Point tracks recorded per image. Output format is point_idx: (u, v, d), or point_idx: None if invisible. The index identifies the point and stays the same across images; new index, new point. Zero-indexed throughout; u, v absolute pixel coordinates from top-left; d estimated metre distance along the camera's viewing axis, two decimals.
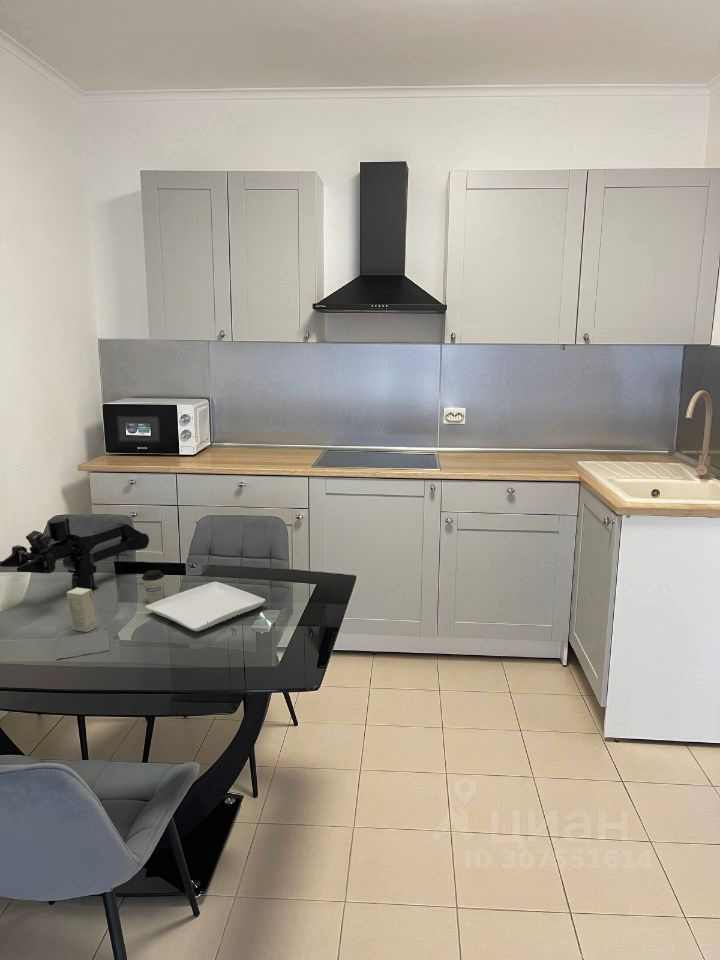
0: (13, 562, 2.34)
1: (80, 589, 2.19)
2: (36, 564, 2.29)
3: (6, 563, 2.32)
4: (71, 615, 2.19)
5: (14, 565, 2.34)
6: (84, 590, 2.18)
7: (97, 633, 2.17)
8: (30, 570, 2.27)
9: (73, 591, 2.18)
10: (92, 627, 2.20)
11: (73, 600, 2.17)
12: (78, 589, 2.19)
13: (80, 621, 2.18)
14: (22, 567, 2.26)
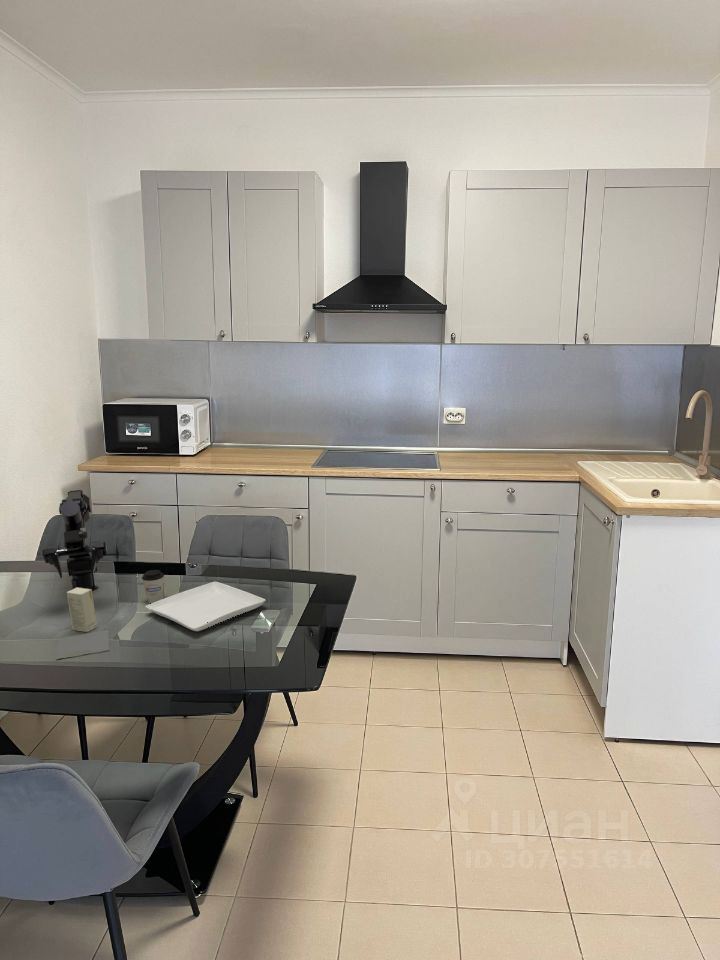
0: None
1: (80, 589, 2.19)
2: None
3: None
4: (71, 615, 2.19)
5: None
6: (84, 590, 2.18)
7: (97, 633, 2.17)
8: (96, 564, 2.33)
9: (73, 591, 2.18)
10: (92, 627, 2.20)
11: (73, 600, 2.17)
12: (78, 589, 2.19)
13: (80, 621, 2.18)
14: (94, 568, 2.31)
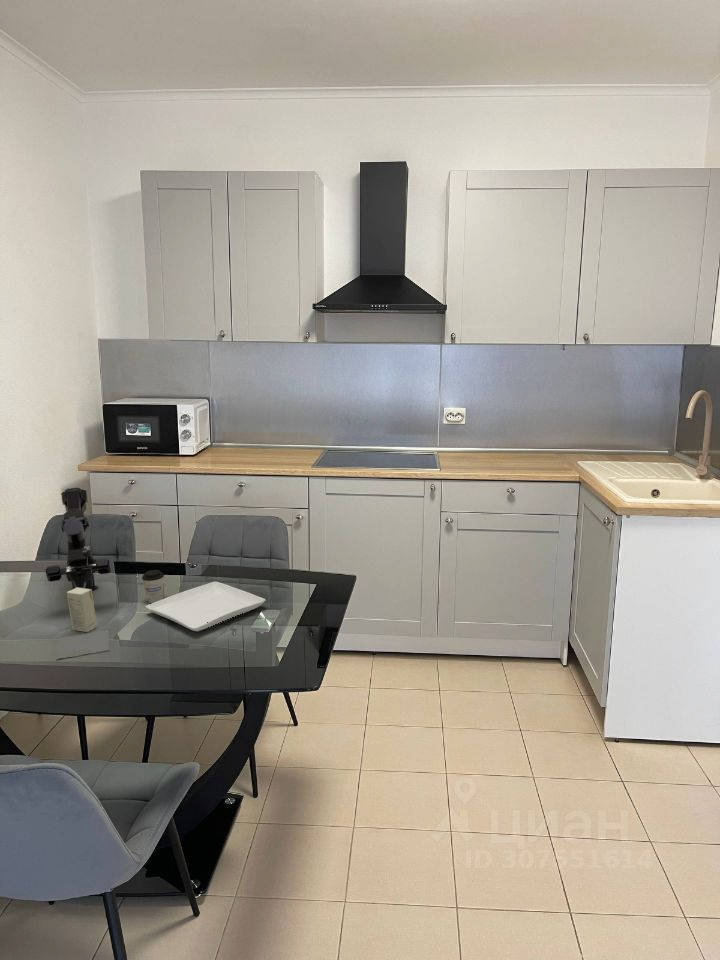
0: None
1: (80, 589, 2.19)
2: None
3: None
4: (71, 615, 2.19)
5: None
6: (84, 590, 2.18)
7: (97, 633, 2.17)
8: (85, 585, 2.30)
9: (73, 591, 2.18)
10: (92, 627, 2.20)
11: (73, 600, 2.17)
12: (78, 589, 2.19)
13: (80, 621, 2.18)
14: None
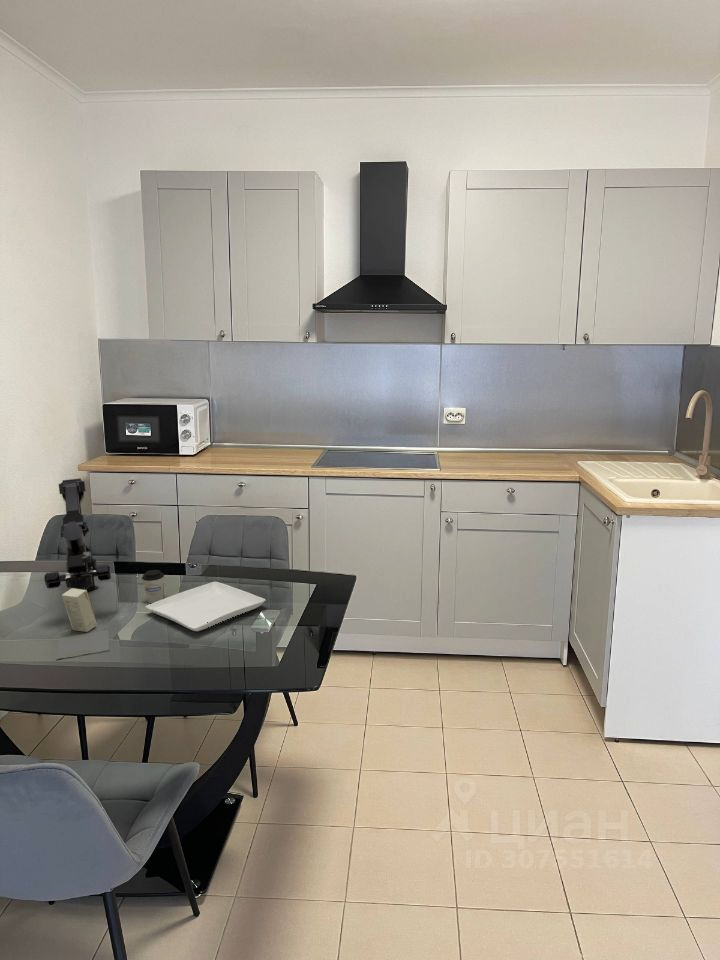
0: None
1: (75, 590, 2.17)
2: None
3: None
4: (69, 616, 2.18)
5: None
6: (79, 591, 2.16)
7: (97, 633, 2.17)
8: None
9: (68, 593, 2.16)
10: (91, 626, 2.19)
11: (69, 602, 2.16)
12: (73, 590, 2.18)
13: (79, 622, 2.18)
14: None
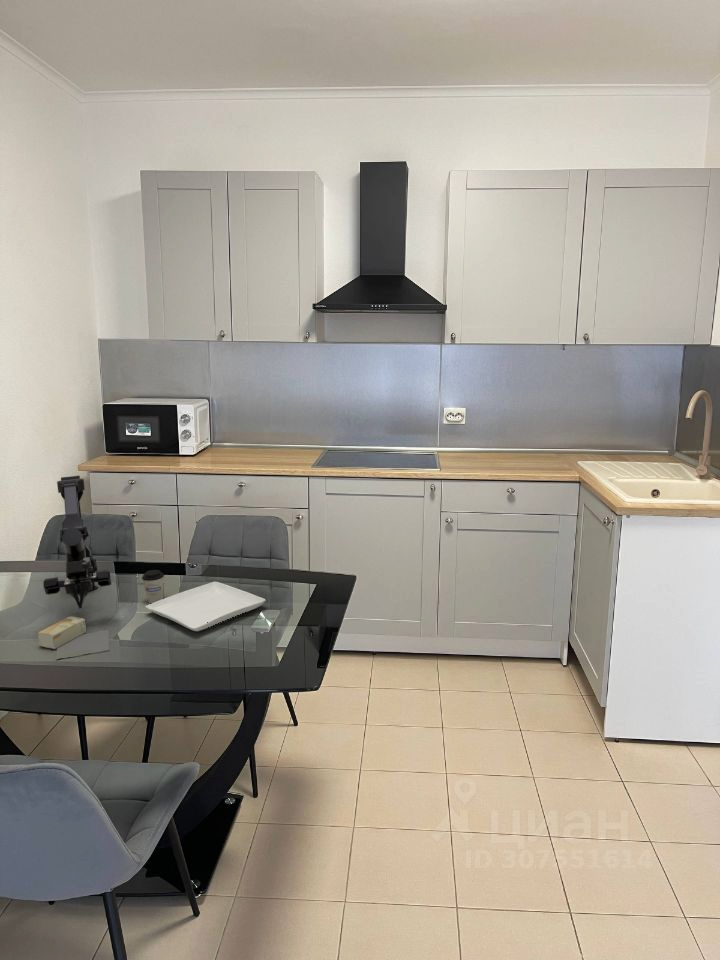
0: None
1: (44, 637, 2.08)
2: None
3: (79, 602, 2.18)
4: None
5: None
6: (49, 639, 2.07)
7: (97, 633, 2.17)
8: (84, 598, 2.20)
9: (42, 642, 2.09)
10: (84, 626, 2.17)
11: None
12: (43, 638, 2.08)
13: None
14: (82, 602, 2.17)
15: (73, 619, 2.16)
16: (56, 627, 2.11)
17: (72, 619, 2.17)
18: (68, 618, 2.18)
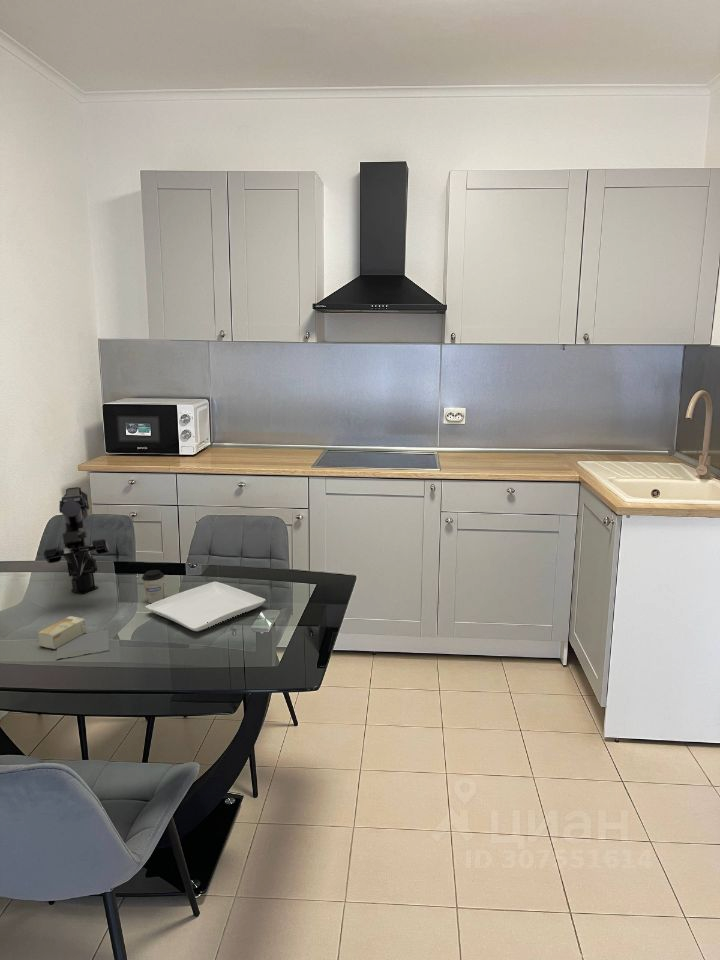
0: (76, 563, 2.32)
1: (44, 637, 2.08)
2: None
3: None
4: None
5: (77, 564, 2.33)
6: (49, 639, 2.07)
7: (97, 633, 2.17)
8: (83, 565, 2.32)
9: (42, 642, 2.09)
10: (84, 626, 2.17)
11: None
12: (43, 638, 2.08)
13: None
14: (81, 570, 2.30)
15: (73, 619, 2.16)
16: (56, 627, 2.11)
17: (72, 619, 2.17)
18: (68, 618, 2.18)
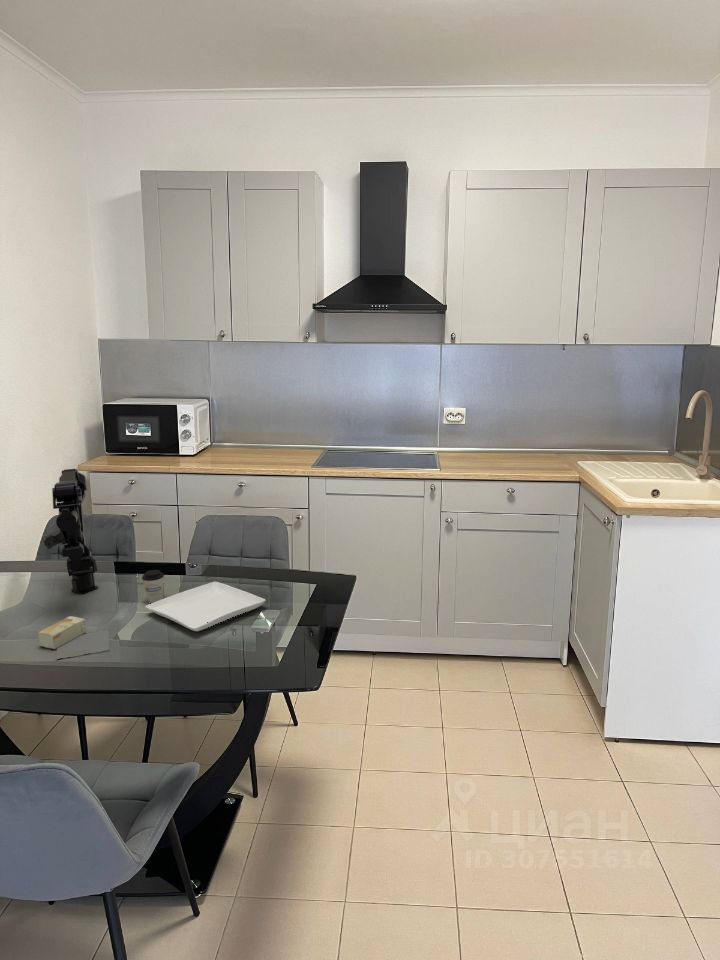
0: None
1: (44, 637, 2.08)
2: None
3: None
4: None
5: None
6: (49, 639, 2.07)
7: (97, 633, 2.17)
8: (79, 559, 2.33)
9: (42, 642, 2.09)
10: (84, 626, 2.17)
11: None
12: (43, 638, 2.08)
13: None
14: (74, 565, 2.33)
15: (73, 619, 2.16)
16: (56, 627, 2.11)
17: (72, 619, 2.17)
18: (68, 618, 2.18)
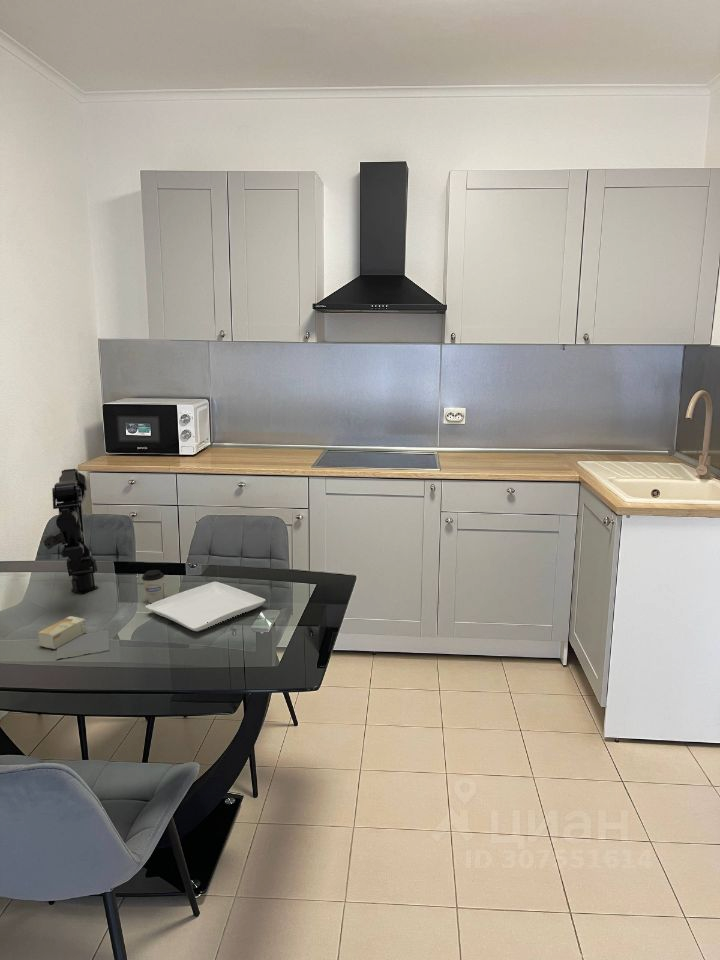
0: None
1: (44, 637, 2.08)
2: None
3: None
4: None
5: None
6: (49, 639, 2.07)
7: (97, 633, 2.17)
8: (79, 559, 2.33)
9: (42, 642, 2.09)
10: (84, 626, 2.17)
11: None
12: (43, 638, 2.08)
13: None
14: (74, 565, 2.33)
15: (73, 619, 2.16)
16: (56, 627, 2.11)
17: (72, 619, 2.17)
18: (68, 618, 2.18)
